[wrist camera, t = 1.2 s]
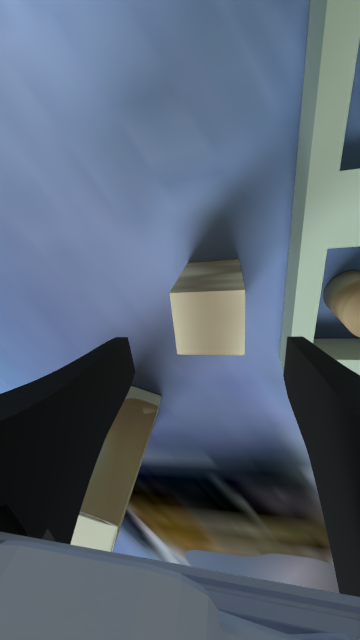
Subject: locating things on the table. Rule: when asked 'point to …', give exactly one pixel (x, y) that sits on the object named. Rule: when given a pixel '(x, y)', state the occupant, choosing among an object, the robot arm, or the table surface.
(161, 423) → the table surface
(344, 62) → the green board with holes
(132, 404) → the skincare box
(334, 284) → the tan cylinder
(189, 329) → the maple peg
